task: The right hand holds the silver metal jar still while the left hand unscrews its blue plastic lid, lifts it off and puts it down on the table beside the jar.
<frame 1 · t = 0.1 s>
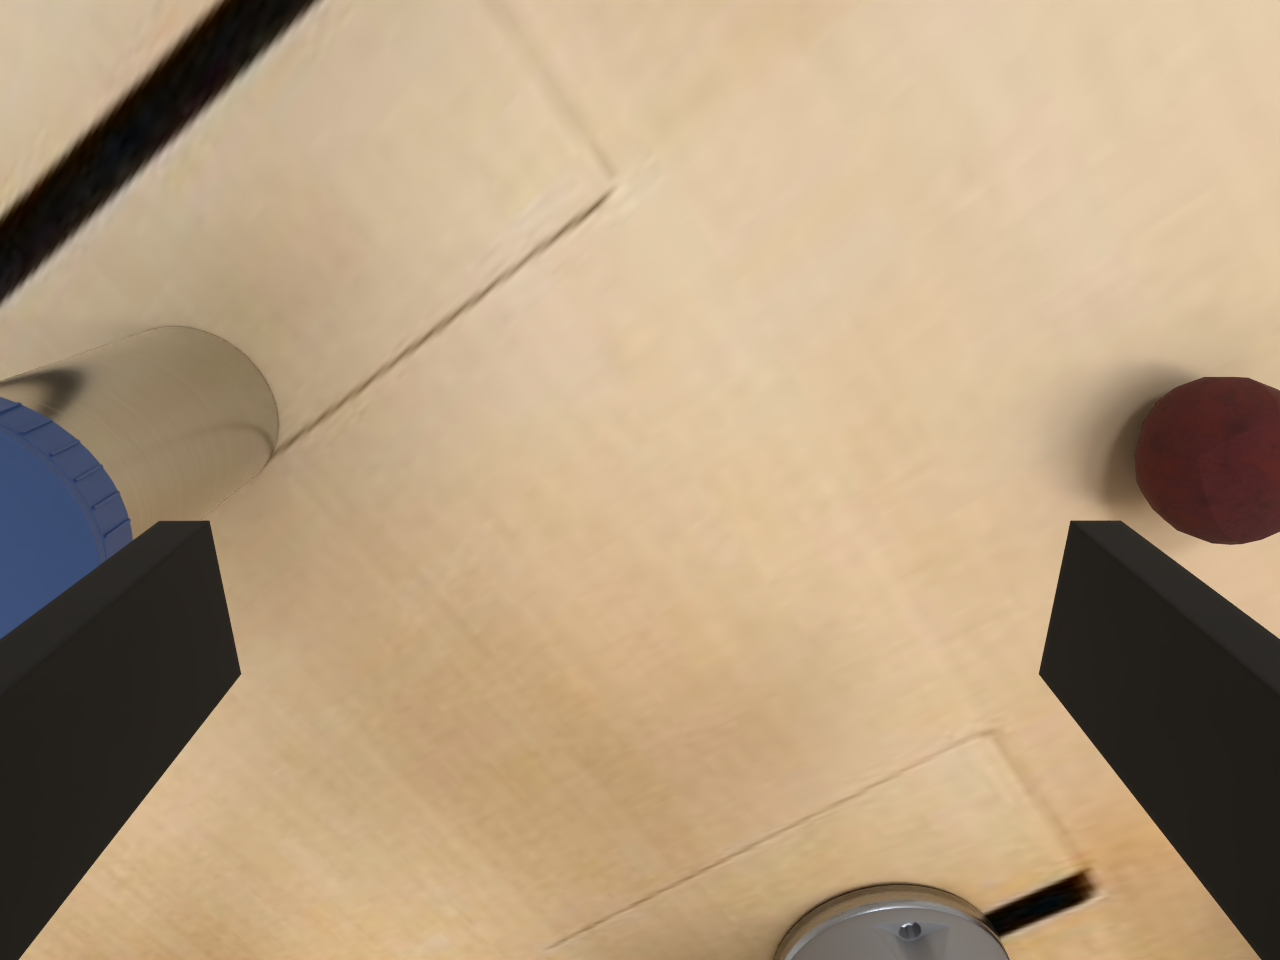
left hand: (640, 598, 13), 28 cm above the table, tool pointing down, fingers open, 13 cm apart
jar: (192, 411, 41), on the table
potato: (1176, 433, 41), on the table
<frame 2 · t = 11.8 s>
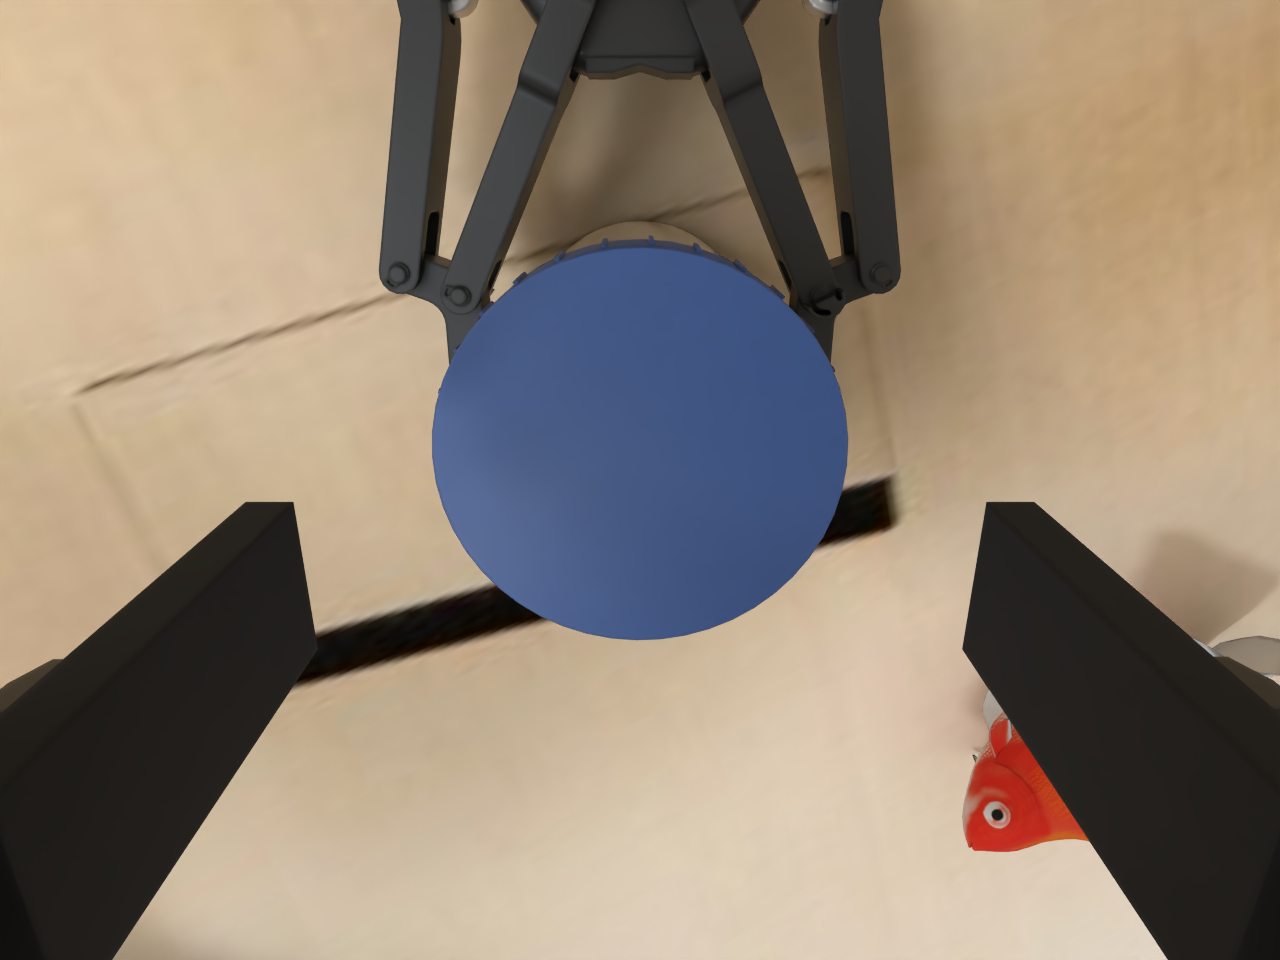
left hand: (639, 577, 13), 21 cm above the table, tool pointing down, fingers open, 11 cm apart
jar: (639, 331, 33), on the table, touching right hand
fish: (1077, 678, 39), on the table
lid: (640, 456, 19), point 15 cm above the table, screwed on, not yet turned
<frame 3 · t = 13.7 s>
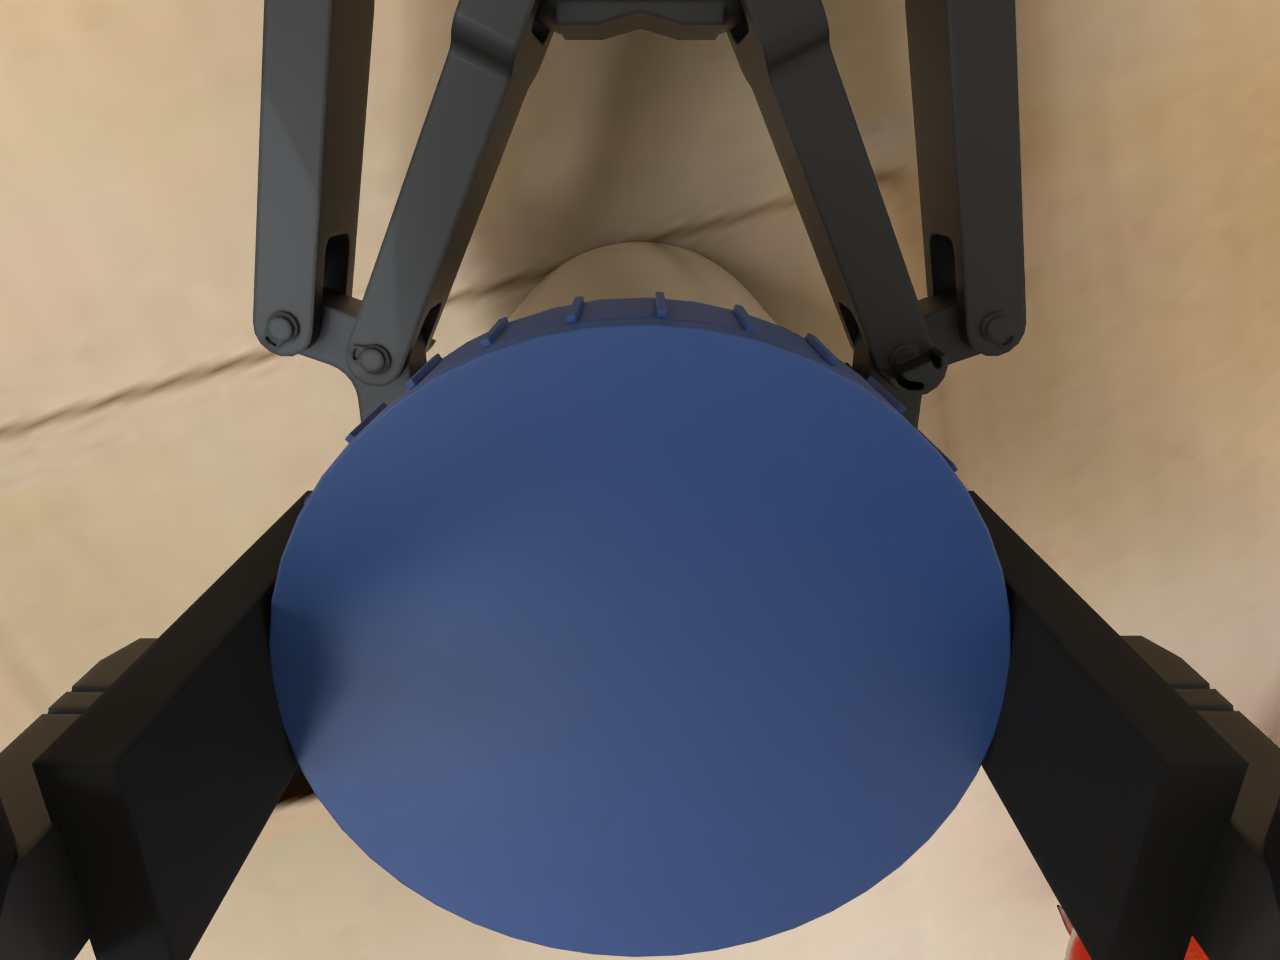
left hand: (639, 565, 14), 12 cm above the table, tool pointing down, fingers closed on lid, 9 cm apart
jar: (639, 386, 25), on the table, touching right hand
fish: (1192, 815, 31), on the table
lid: (640, 676, 11), point 15 cm above the table, screwed on, not yet turned, touching left hand
when the left hand's fingers open (12 cm above the table, at t = 15.2 s): lid stays where it is, point 15 cm above the table.
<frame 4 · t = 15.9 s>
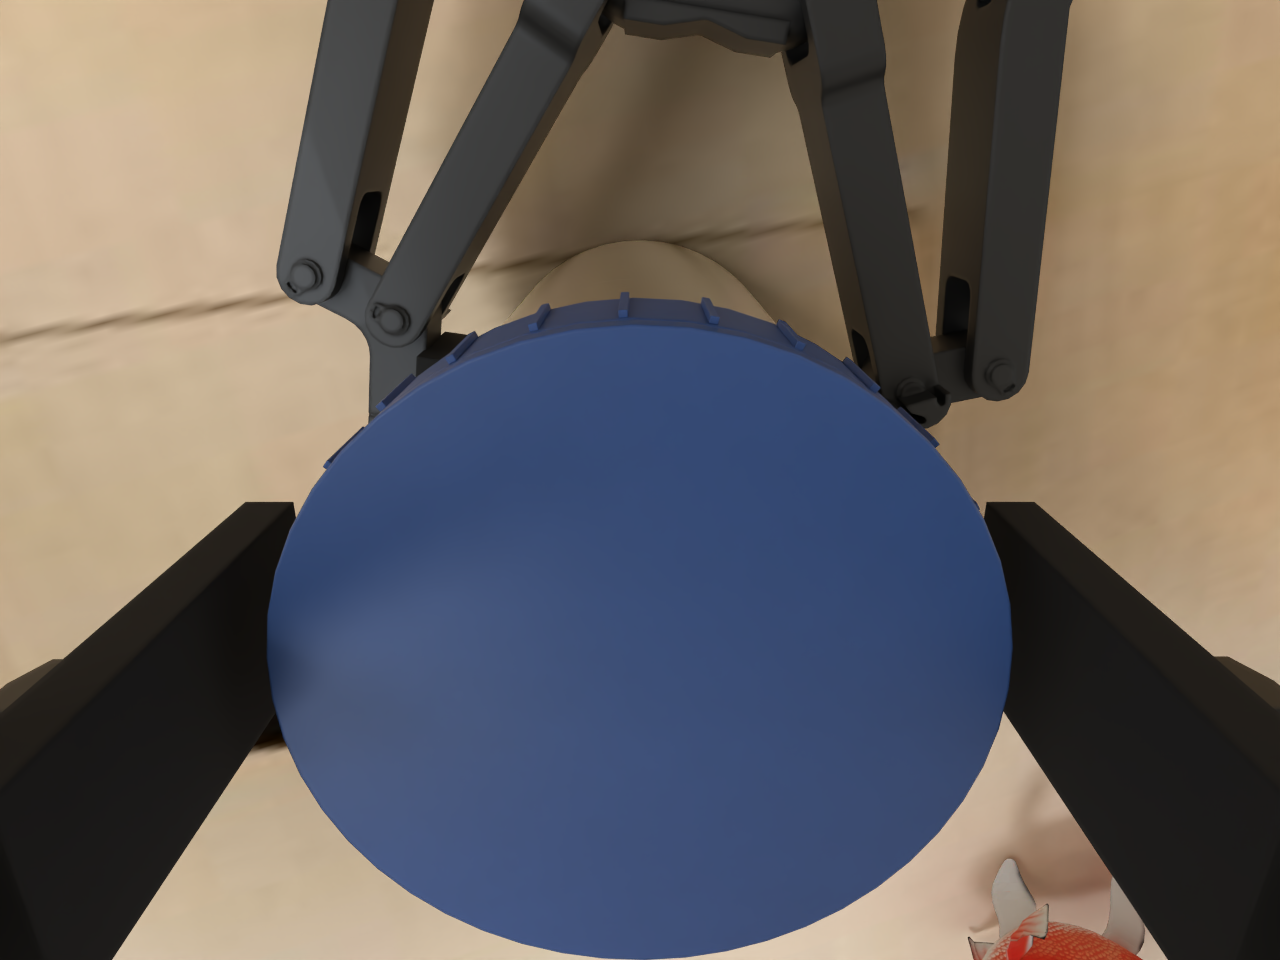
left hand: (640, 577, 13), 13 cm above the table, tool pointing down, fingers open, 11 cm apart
jar: (639, 383, 25), on the table, touching right hand
fish: (1106, 864, 32), on the table
lid: (639, 678, 11), point 15 cm above the table, turned 100° so far, risen 0.3 cm, still on its thread
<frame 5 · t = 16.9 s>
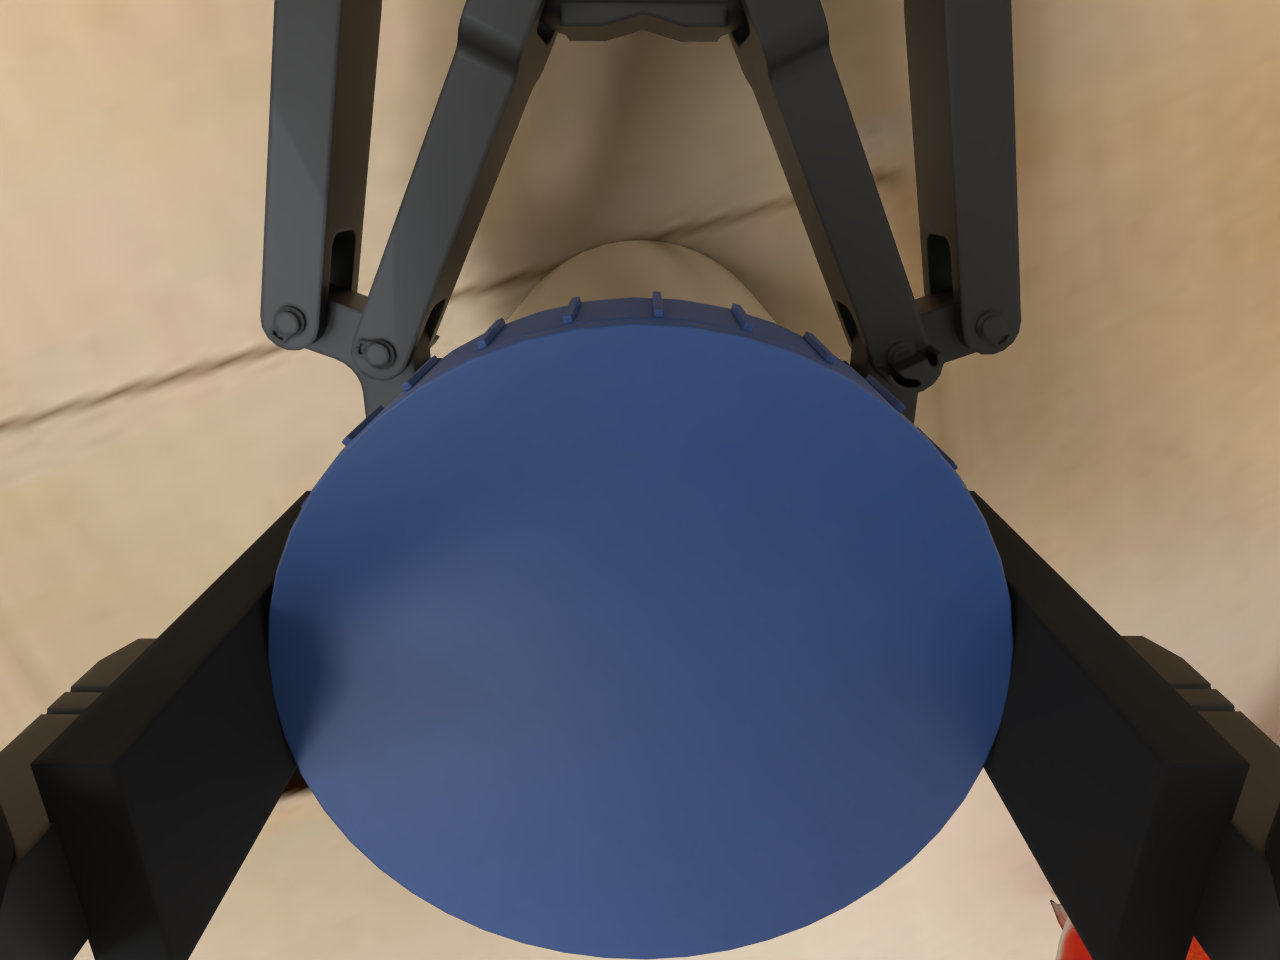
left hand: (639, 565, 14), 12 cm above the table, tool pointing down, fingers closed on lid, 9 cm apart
jar: (640, 383, 25), on the table, touching right hand
fish: (1184, 811, 31), on the table
lid: (640, 677, 11), point 15 cm above the table, turned 100° so far, risen 0.3 cm, still on its thread, touching left hand
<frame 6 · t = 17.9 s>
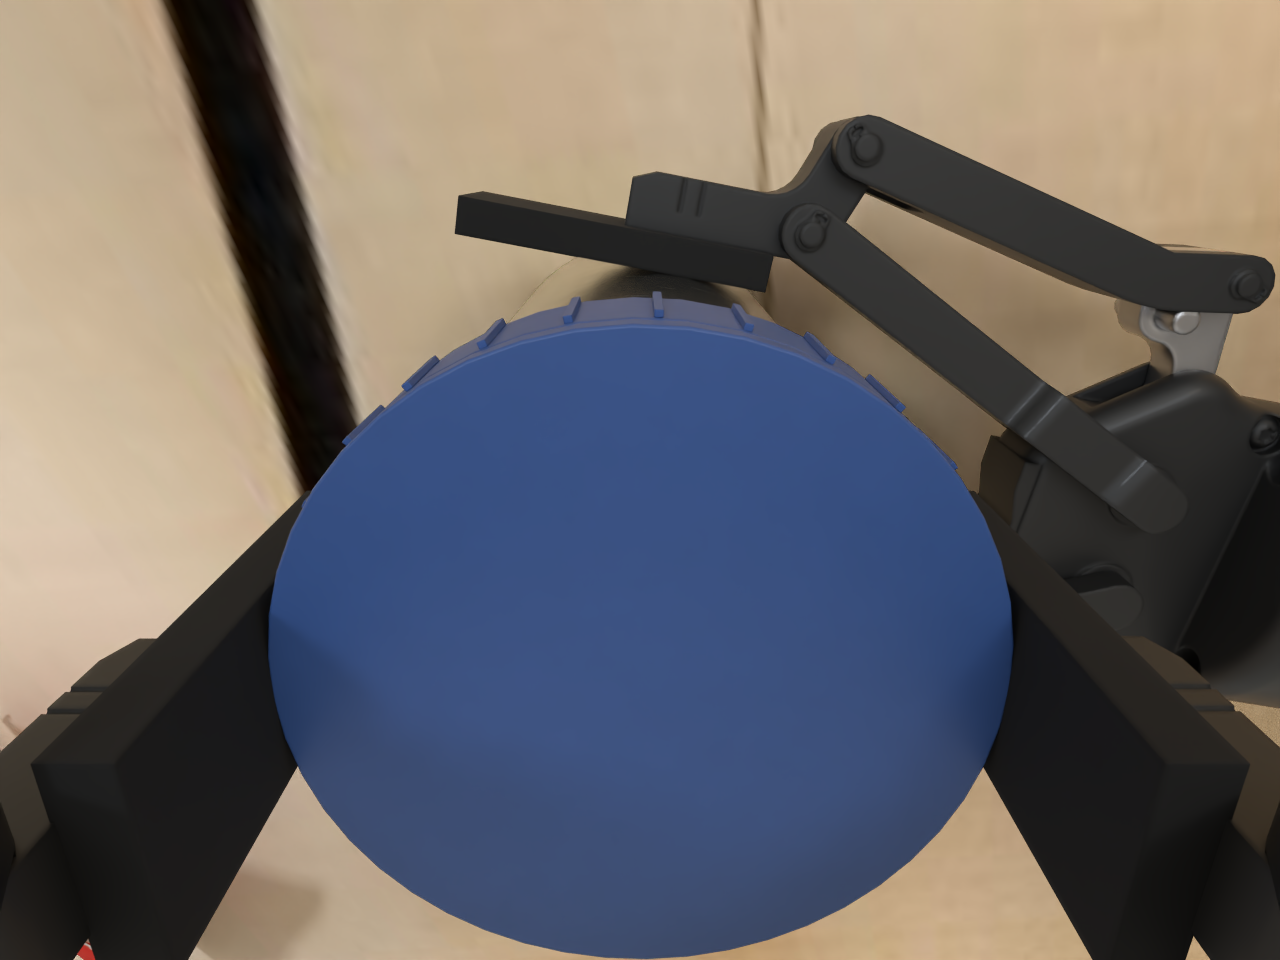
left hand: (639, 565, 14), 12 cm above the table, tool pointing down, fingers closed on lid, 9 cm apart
jar: (641, 382, 25), on the table, touching right hand
lid: (640, 677, 11), point 16 cm above the table, off its thread, touching left hand
when the left hand's fingers open (0 cm above the table, at t = 23.1 s): lid drops 2 cm, point 2 cm above the table.
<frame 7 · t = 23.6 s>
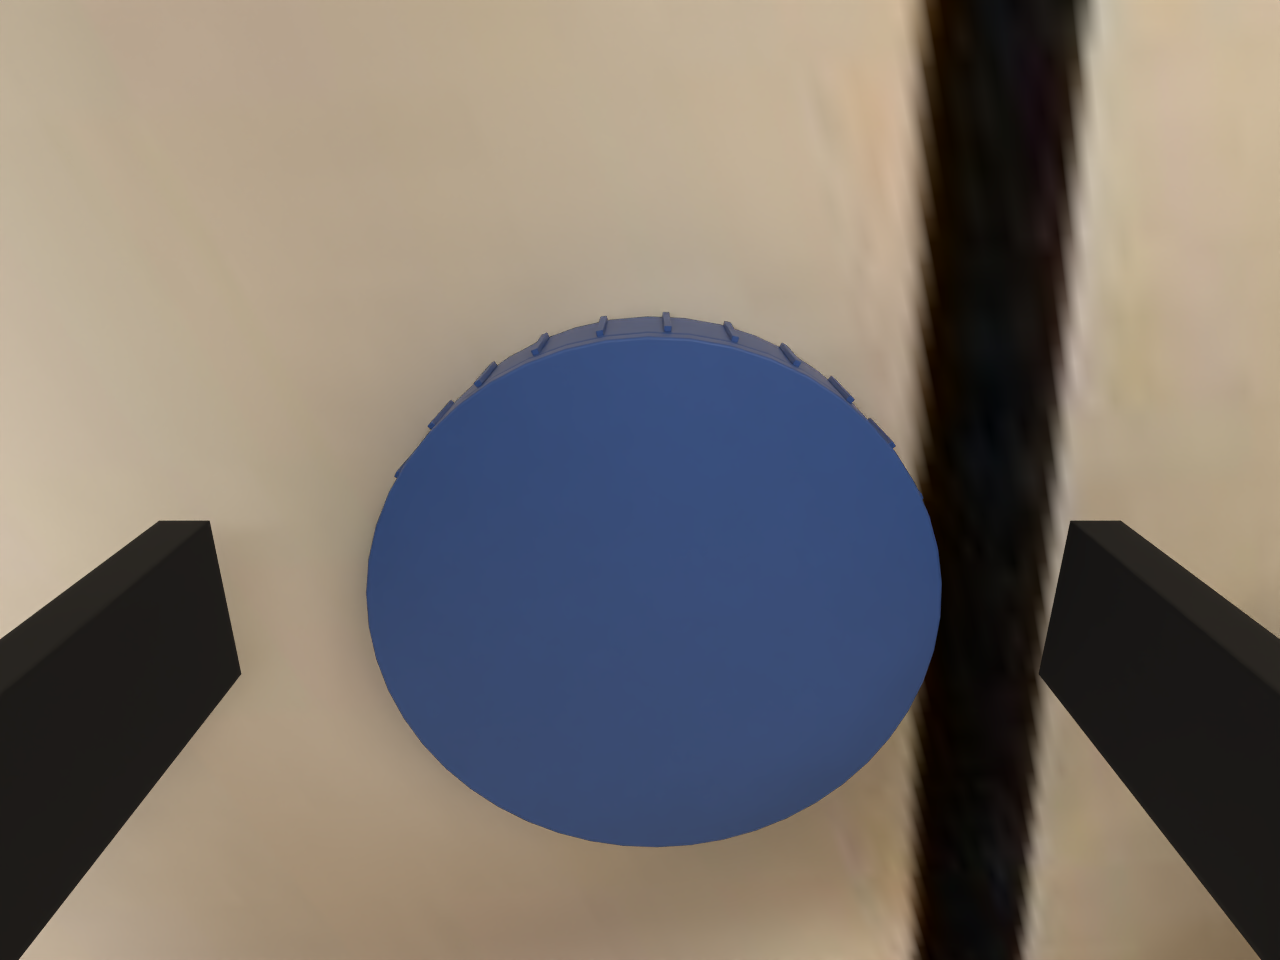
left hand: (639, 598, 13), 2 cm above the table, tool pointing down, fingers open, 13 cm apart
lid: (652, 612, 14), point 2 cm above the table, off its thread
when the right hand's fingers open (6 cm above the table, at t = 24.1 s): jar stays where it is, on the table.
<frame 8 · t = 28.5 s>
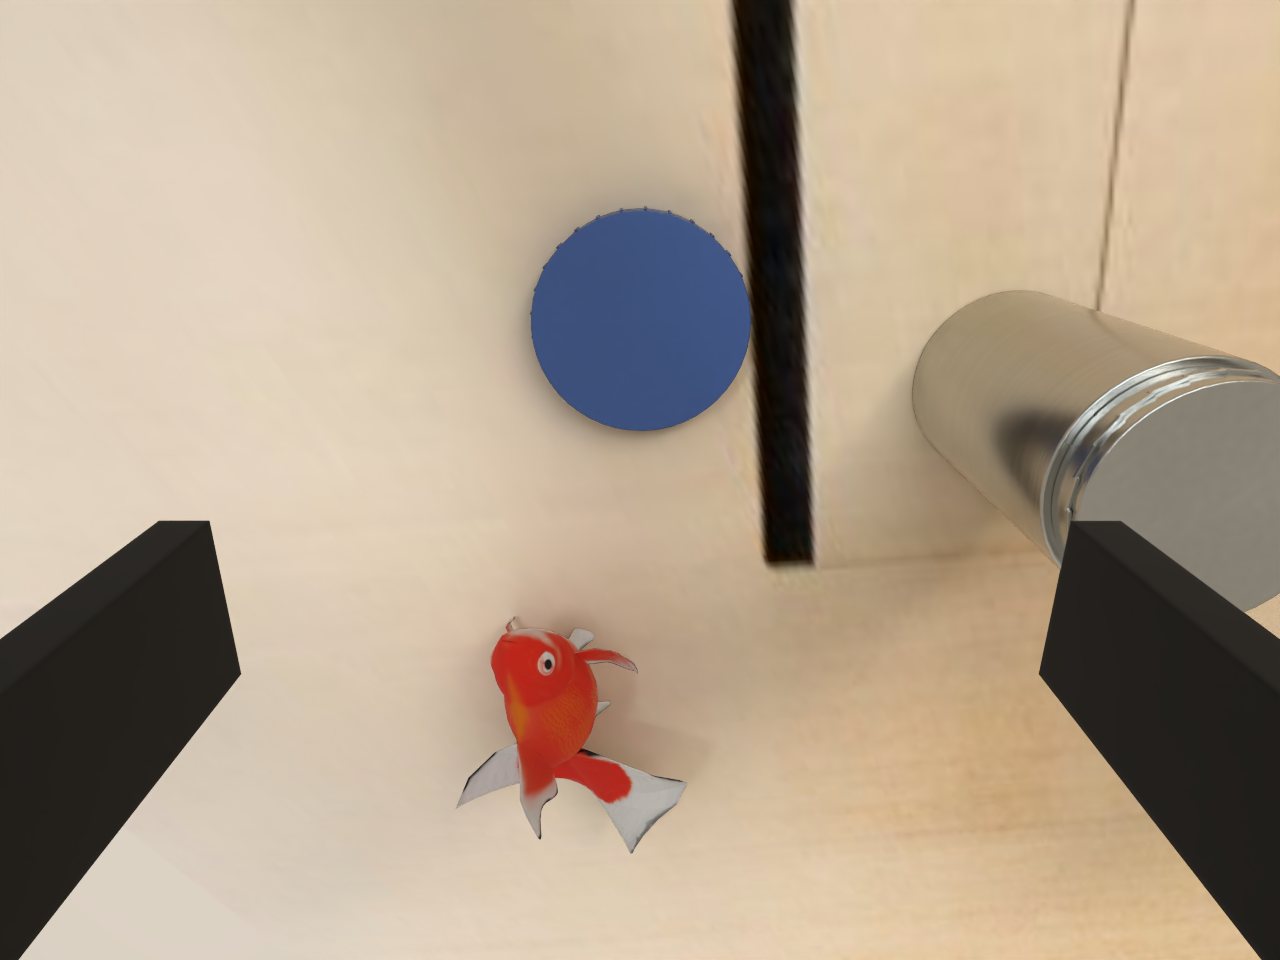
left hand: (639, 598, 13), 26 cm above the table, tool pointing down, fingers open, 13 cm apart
jar: (1004, 383, 38), on the table
fish: (582, 696, 44), on the table
lid: (640, 324, 36), point 2 cm above the table, off its thread
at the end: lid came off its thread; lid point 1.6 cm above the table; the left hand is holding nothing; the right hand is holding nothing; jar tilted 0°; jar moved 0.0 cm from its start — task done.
